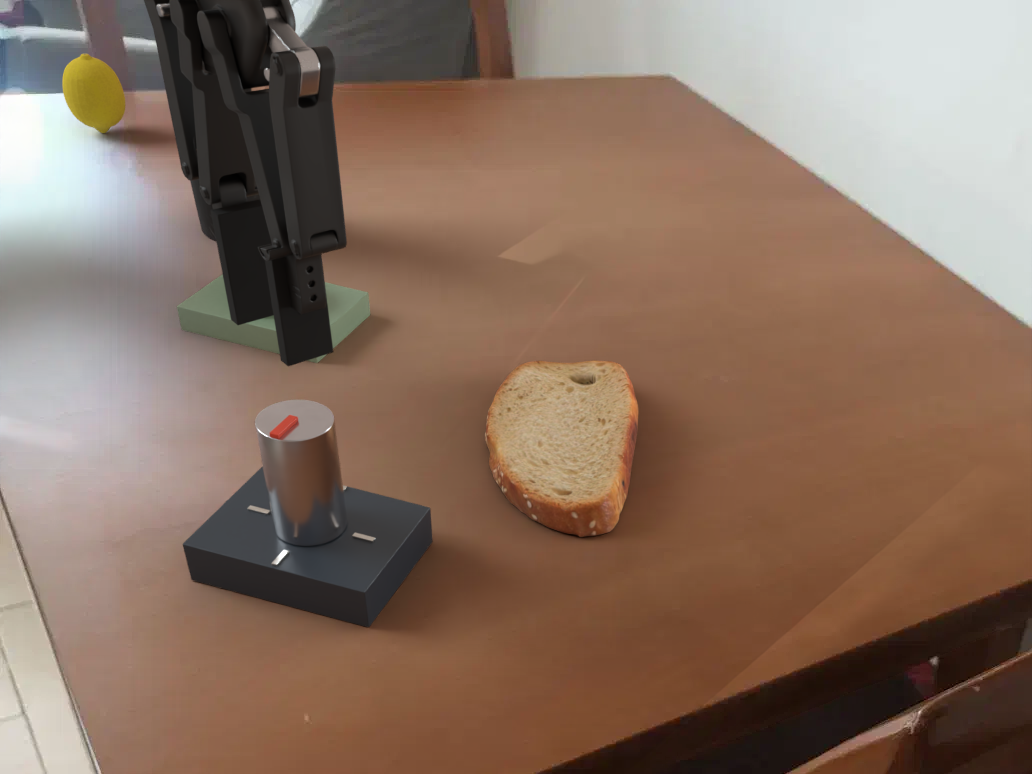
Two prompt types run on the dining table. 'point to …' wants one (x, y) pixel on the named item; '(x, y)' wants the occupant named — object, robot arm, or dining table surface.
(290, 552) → the panel
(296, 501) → the metal dial knob
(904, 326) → the dining table surface
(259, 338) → the button block
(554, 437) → the slice of bread
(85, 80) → the lemon
